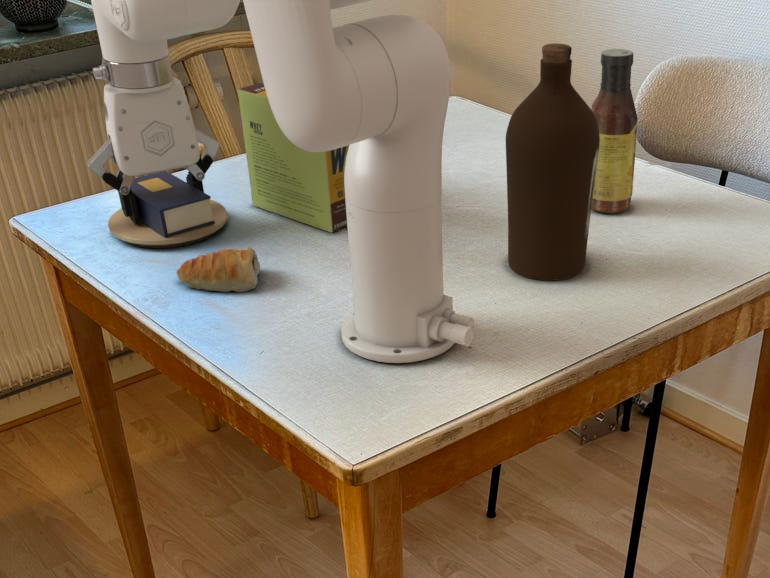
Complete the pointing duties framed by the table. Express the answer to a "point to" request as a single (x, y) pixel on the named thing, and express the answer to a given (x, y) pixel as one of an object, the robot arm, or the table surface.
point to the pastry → (222, 270)
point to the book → (168, 212)
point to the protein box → (290, 169)
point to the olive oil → (551, 174)
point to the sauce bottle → (615, 133)
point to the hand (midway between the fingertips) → (166, 213)
